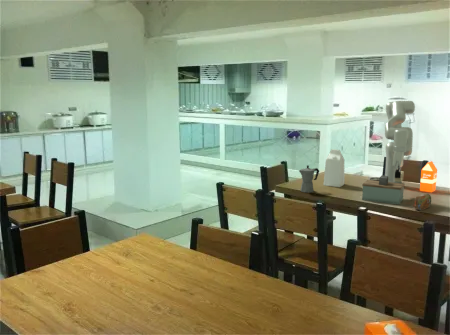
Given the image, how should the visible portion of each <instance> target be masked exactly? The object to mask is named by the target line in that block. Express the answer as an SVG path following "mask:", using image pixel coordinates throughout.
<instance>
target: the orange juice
mask: <svg viewBox="0 0 450 335" xmlns="http://www.w3.org/2000/svg"><path fill="white" fill-rule="evenodd" d="M437 177H438V169H437V167H436V166H435V164H434V162H433V161H428V162H427V163H426V164H425V165H424V166H423V167H422V169H421V172H420V184H419V191H420V192H426V193H433V192H435V191H436V188H437Z"/></svg>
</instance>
